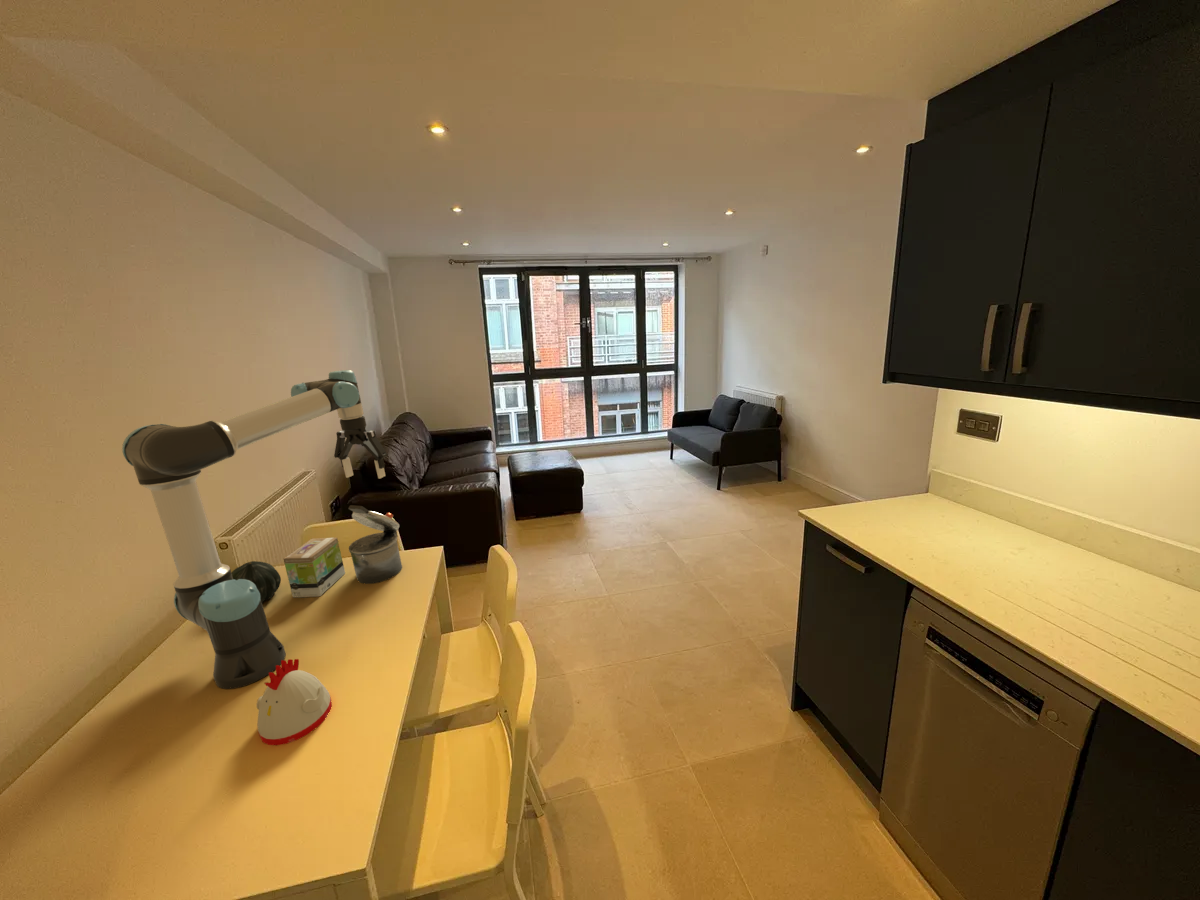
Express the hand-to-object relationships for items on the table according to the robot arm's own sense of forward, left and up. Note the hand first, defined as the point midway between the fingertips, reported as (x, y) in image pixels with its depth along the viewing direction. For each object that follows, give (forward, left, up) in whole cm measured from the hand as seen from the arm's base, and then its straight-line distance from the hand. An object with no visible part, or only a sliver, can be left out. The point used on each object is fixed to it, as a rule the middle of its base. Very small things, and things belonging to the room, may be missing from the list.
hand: (365, 476), depth 159 cm
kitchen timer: (-62, -28, -36) cm, 77 cm away
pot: (-3, 0, -35) cm, 35 cm away
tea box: (-14, +15, -36) cm, 41 cm away
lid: (-1, 0, -16) cm, 16 cm away
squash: (-25, +30, -36) cm, 53 cm away
